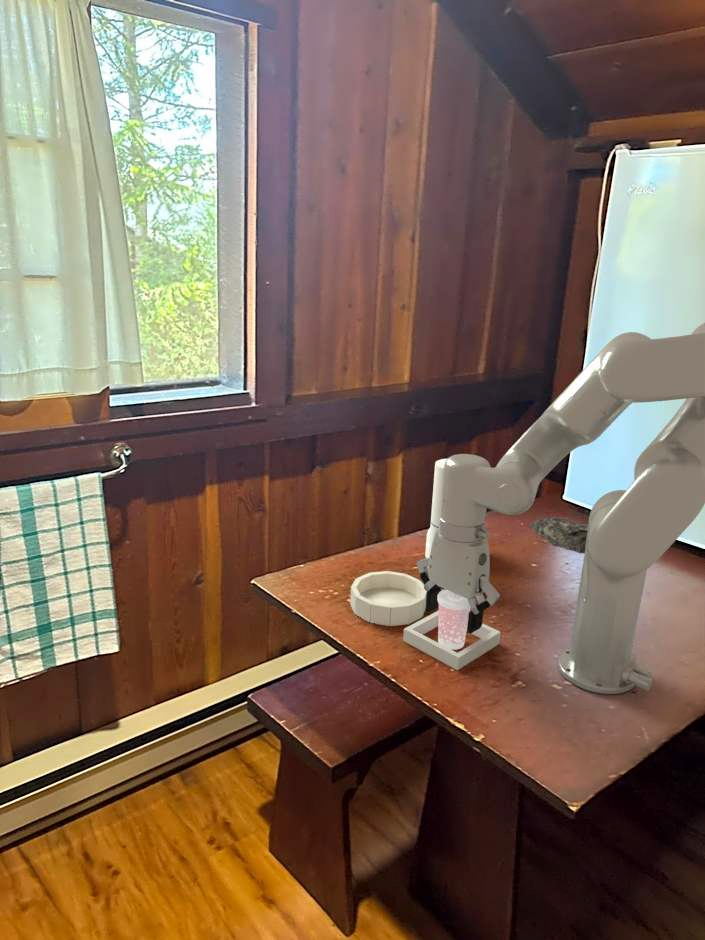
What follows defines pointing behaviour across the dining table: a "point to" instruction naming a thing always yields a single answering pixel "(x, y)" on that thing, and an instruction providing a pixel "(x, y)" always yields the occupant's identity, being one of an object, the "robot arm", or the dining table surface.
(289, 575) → the dining table surface
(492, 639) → the open square frame
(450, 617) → the beverage cup
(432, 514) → the cylindrical container
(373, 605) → the bowl
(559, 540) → the geode
